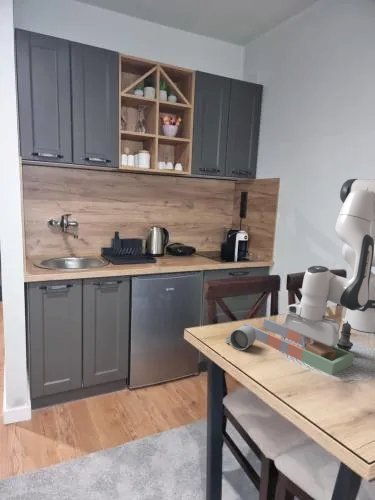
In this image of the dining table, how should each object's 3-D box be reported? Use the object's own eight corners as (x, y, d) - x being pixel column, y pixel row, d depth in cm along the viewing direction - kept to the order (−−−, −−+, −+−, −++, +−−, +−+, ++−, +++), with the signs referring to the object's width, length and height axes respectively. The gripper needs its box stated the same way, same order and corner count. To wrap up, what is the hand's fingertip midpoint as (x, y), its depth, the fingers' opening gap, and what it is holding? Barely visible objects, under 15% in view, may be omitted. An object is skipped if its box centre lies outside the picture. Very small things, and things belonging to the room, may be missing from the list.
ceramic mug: (256, 345, 129) (258, 326, 128) (248, 353, 122) (249, 332, 121) (230, 338, 134) (232, 319, 133) (221, 345, 127) (222, 325, 126)
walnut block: (319, 355, 124) (320, 342, 123) (334, 364, 118) (336, 350, 117) (304, 358, 121) (305, 344, 120) (319, 367, 115) (321, 353, 114)
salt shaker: (353, 356, 125) (358, 325, 123) (336, 354, 126) (340, 322, 124) (349, 349, 130) (354, 319, 129) (333, 347, 132) (337, 317, 130)
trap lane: (265, 327, 148) (266, 318, 147) (352, 364, 118) (354, 353, 118) (243, 333, 140) (244, 323, 139) (331, 375, 110) (333, 363, 109)
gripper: (345, 319, 116) (339, 358, 118) (293, 302, 132) (289, 336, 134) (335, 323, 112) (329, 362, 114) (283, 304, 128) (279, 339, 130)
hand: (307, 348), depth 124 cm, fingers closed
